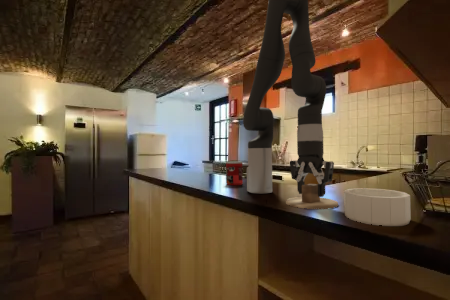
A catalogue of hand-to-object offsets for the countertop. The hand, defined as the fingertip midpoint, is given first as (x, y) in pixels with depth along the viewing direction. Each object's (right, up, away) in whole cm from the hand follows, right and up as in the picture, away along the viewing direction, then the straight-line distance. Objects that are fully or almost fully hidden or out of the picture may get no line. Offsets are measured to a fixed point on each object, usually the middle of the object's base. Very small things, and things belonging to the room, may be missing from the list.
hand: (311, 194), depth 76 cm
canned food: (-22, -3, +45) cm, 50 cm away
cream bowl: (+9, -2, -17) cm, 19 cm away
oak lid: (0, -3, 0) cm, 3 cm away
